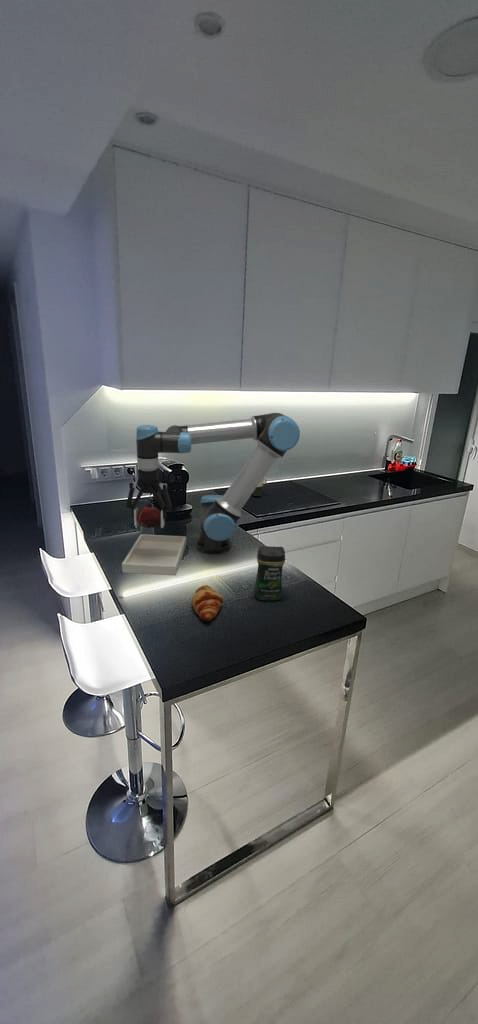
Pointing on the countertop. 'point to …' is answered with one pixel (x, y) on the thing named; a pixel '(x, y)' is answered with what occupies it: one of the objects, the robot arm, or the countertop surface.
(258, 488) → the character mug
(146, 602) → the countertop surface
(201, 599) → the croissant
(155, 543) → the fruit holder
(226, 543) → the robot arm
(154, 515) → the fruit
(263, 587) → the coffee jar
